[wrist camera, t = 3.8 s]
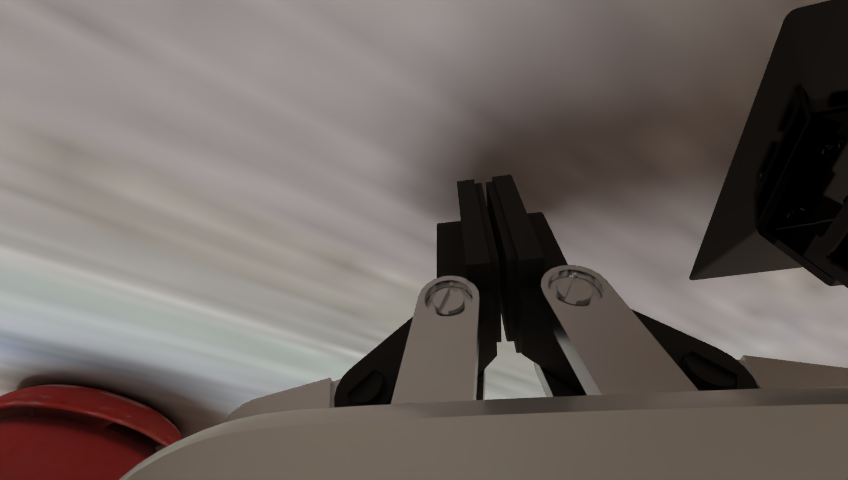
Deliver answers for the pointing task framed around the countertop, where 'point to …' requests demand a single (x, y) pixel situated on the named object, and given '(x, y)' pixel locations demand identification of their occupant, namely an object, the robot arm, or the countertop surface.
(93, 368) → the countertop surface
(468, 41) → the countertop surface
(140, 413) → the plant pot
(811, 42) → the black piece
